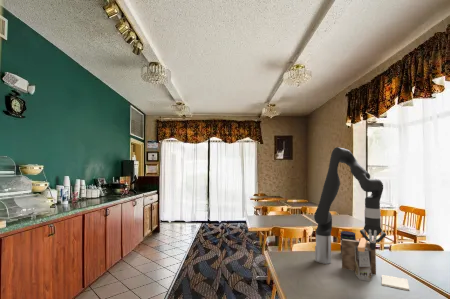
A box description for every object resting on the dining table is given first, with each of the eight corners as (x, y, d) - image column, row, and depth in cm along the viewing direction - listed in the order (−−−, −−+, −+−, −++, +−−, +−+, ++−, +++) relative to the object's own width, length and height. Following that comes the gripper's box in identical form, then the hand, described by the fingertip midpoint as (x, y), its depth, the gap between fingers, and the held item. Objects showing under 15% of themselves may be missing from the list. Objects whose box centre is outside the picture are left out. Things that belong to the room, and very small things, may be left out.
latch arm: (357, 251, 143) (357, 247, 143) (361, 240, 164) (361, 237, 164) (364, 251, 142) (364, 248, 142) (366, 241, 162) (366, 238, 162)
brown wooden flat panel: (342, 268, 165) (341, 239, 166) (342, 266, 167) (342, 238, 169) (375, 274, 156) (375, 244, 157) (376, 272, 158) (375, 243, 159)
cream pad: (381, 285, 142) (381, 283, 142) (381, 276, 154) (381, 274, 154) (409, 290, 136) (409, 289, 136) (407, 280, 148) (407, 279, 148)
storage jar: (355, 253, 195) (355, 232, 196) (356, 257, 186) (355, 235, 187) (340, 251, 199) (340, 230, 200) (340, 255, 190) (340, 233, 191)
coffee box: (372, 281, 146) (371, 250, 147) (359, 280, 148) (358, 249, 149) (366, 274, 155) (366, 246, 156) (354, 273, 157) (354, 245, 158)
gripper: (358, 216, 145) (358, 249, 144) (387, 219, 139) (387, 253, 137) (359, 214, 152) (359, 245, 151) (386, 216, 145) (387, 249, 144)
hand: (373, 249), depth 144 cm, fingers closed
